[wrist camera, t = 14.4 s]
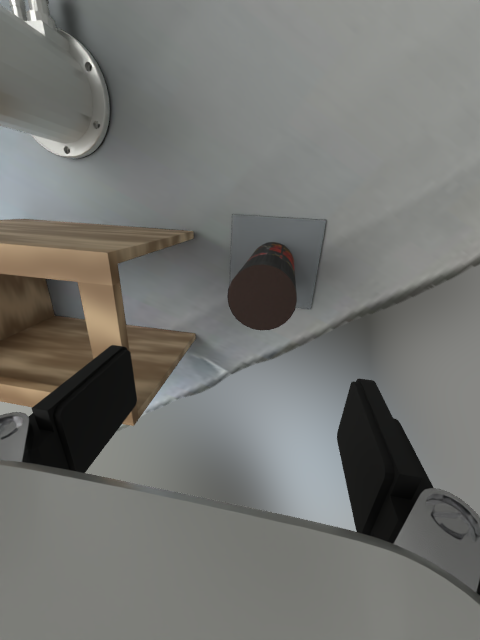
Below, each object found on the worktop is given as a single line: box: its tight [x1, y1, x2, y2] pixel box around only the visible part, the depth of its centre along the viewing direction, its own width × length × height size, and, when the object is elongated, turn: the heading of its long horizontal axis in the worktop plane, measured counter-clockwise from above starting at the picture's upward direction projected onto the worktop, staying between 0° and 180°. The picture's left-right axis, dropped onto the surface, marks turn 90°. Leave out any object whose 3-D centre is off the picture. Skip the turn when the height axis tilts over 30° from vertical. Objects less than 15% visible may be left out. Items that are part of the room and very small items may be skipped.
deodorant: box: [228, 242, 297, 330], centre depth 29 cm, size 6×6×15 cm
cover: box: [0, 219, 196, 426], centre depth 33 cm, size 17×27×19 cm, turn 87°
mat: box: [230, 214, 326, 309], centre depth 36 cm, size 12×12×1 cm
